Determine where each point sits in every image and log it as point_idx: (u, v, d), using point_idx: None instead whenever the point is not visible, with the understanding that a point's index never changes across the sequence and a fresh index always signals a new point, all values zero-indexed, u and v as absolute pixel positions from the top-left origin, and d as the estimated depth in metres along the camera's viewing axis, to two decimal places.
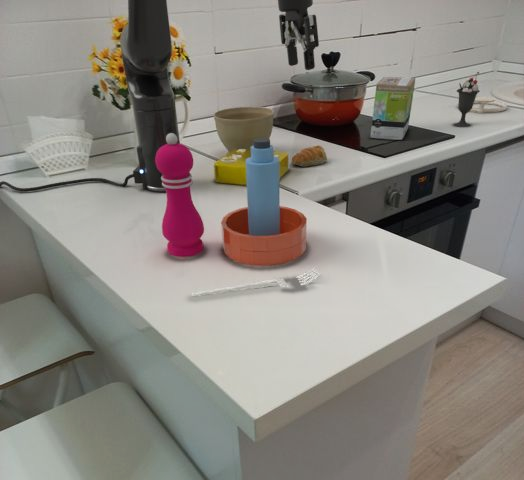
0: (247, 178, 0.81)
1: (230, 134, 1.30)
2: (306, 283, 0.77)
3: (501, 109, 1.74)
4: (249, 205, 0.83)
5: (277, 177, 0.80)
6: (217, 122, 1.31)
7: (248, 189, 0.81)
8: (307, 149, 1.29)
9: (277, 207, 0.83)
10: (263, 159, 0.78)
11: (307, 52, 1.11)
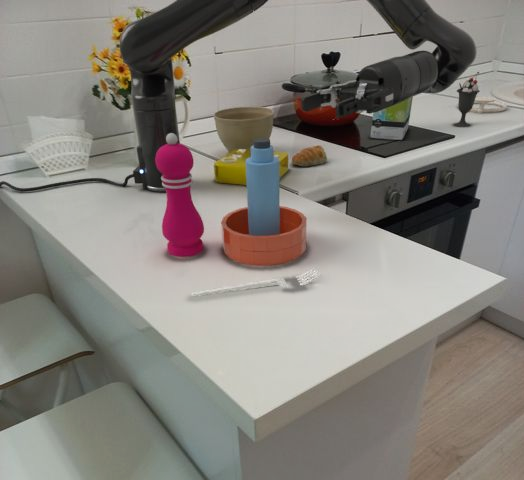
0: (247, 178, 0.81)
1: (230, 134, 1.30)
2: (306, 283, 0.77)
3: (501, 109, 1.74)
4: (249, 205, 0.83)
5: (277, 177, 0.80)
6: (217, 122, 1.31)
7: (248, 189, 0.81)
8: (307, 149, 1.29)
9: (277, 207, 0.83)
10: (263, 159, 0.78)
11: (356, 101, 0.80)
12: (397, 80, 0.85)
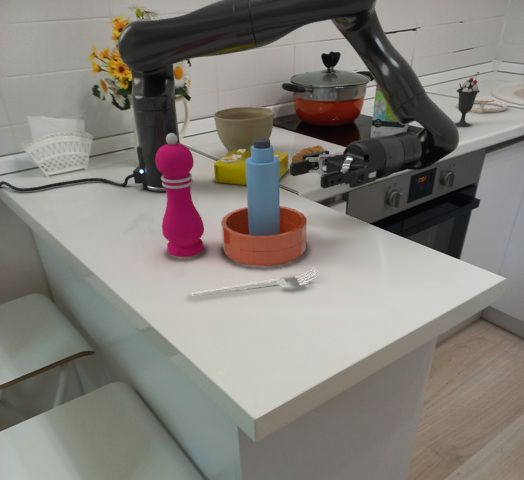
0: (247, 178, 0.81)
1: (230, 134, 1.30)
2: (306, 282, 0.77)
3: (501, 109, 1.74)
4: (249, 205, 0.83)
5: (277, 177, 0.80)
6: (217, 122, 1.31)
7: (248, 189, 0.81)
8: (307, 149, 1.29)
9: (277, 207, 0.83)
10: (263, 159, 0.78)
11: (341, 175, 0.84)
12: (382, 158, 0.90)
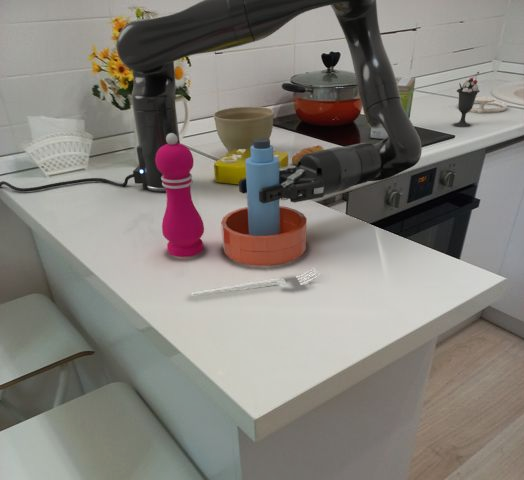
0: (247, 178, 0.81)
1: (230, 134, 1.30)
2: (306, 282, 0.77)
3: (501, 109, 1.74)
4: (249, 205, 0.83)
5: (277, 177, 0.80)
6: (217, 122, 1.31)
7: (248, 189, 0.81)
8: (307, 149, 1.29)
9: (277, 207, 0.83)
10: (263, 159, 0.78)
11: (281, 189, 0.80)
12: (336, 171, 0.85)
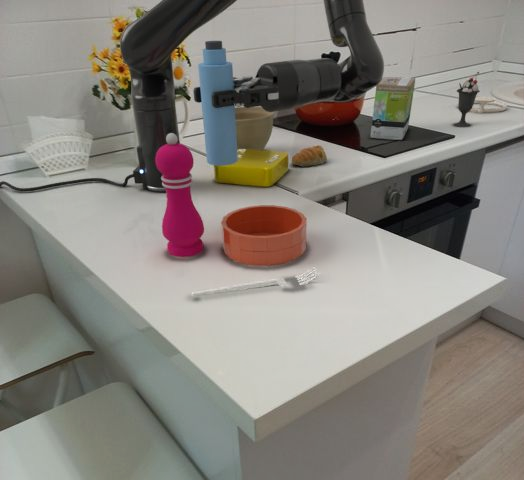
0: (200, 83, 0.80)
1: None
2: (306, 282, 0.77)
3: (501, 109, 1.74)
4: (203, 113, 0.82)
5: (230, 82, 0.79)
6: None
7: (202, 95, 0.80)
8: (307, 149, 1.29)
9: (232, 115, 0.82)
10: (215, 61, 0.77)
11: (234, 93, 0.79)
12: (293, 81, 0.84)
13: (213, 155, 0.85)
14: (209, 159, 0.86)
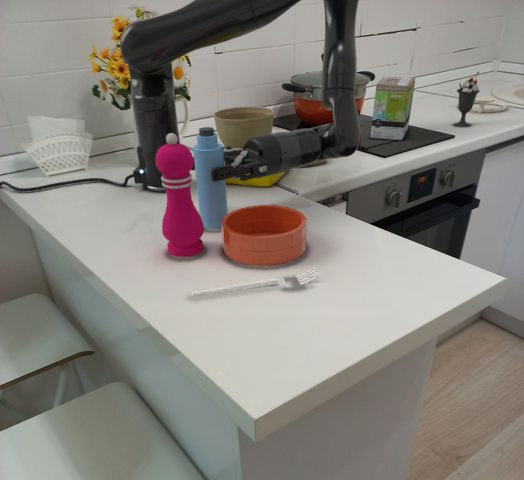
0: (195, 163, 0.90)
1: (230, 134, 1.30)
2: (306, 282, 0.77)
3: (501, 109, 1.74)
4: (198, 187, 0.93)
5: (221, 162, 0.90)
6: (217, 122, 1.31)
7: (196, 173, 0.91)
8: None
9: (223, 189, 0.93)
10: (207, 146, 0.88)
11: (231, 168, 0.89)
12: (276, 153, 0.95)
13: (206, 222, 0.96)
14: None
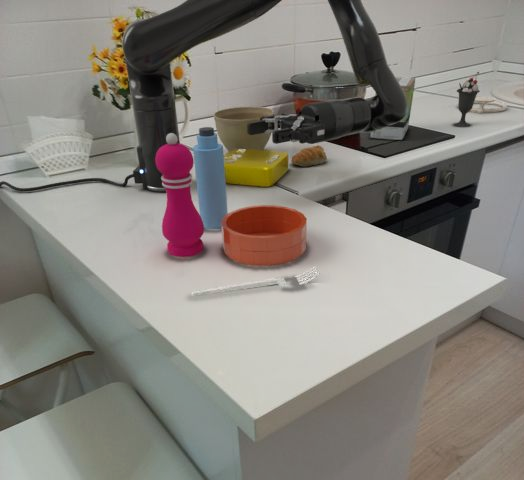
0: (195, 163, 0.90)
1: (230, 134, 1.30)
2: (306, 282, 0.77)
3: (501, 109, 1.74)
4: (198, 187, 0.93)
5: (221, 162, 0.90)
6: (217, 122, 1.31)
7: (196, 173, 0.91)
8: (307, 149, 1.29)
9: (223, 189, 0.93)
10: (207, 146, 0.88)
11: (291, 131, 0.93)
12: (331, 119, 0.98)
13: (206, 222, 0.96)
14: None
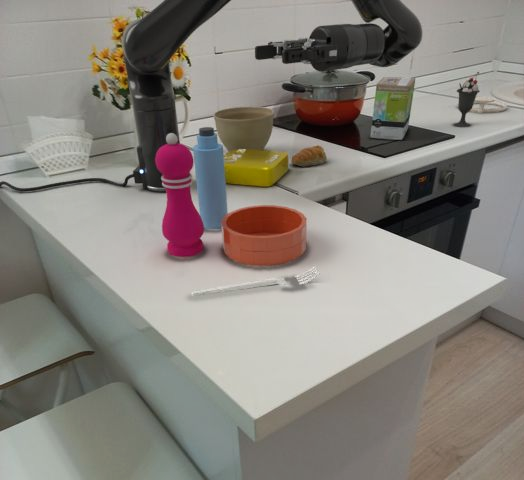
0: (195, 163, 0.90)
1: (230, 134, 1.30)
2: (306, 282, 0.78)
3: (501, 109, 1.74)
4: (198, 187, 0.93)
5: (221, 162, 0.90)
6: (217, 122, 1.31)
7: (196, 173, 0.91)
8: (307, 149, 1.29)
9: (223, 189, 0.93)
10: (207, 146, 0.88)
11: (302, 50, 0.87)
12: (344, 42, 0.93)
13: (206, 222, 0.96)
14: None
